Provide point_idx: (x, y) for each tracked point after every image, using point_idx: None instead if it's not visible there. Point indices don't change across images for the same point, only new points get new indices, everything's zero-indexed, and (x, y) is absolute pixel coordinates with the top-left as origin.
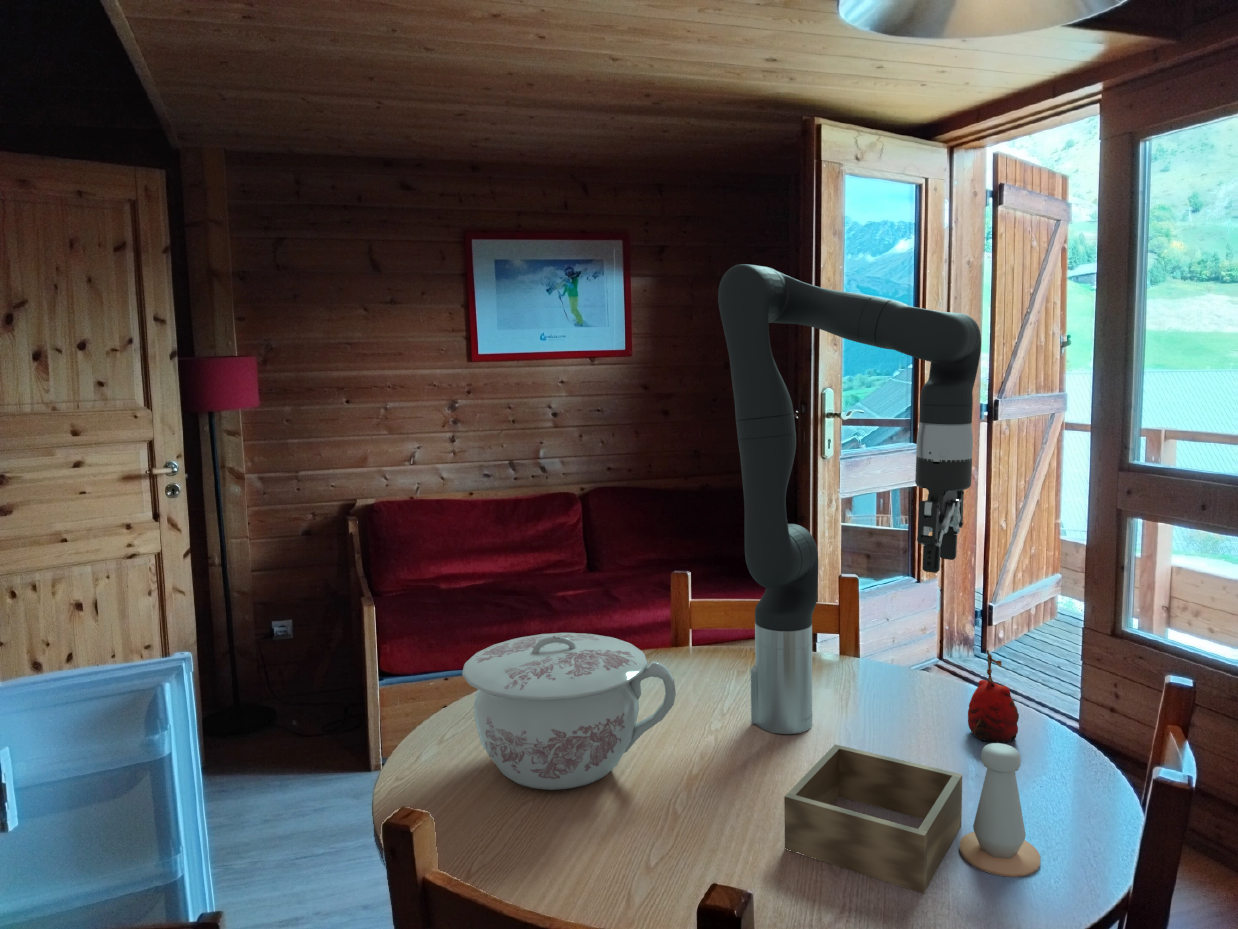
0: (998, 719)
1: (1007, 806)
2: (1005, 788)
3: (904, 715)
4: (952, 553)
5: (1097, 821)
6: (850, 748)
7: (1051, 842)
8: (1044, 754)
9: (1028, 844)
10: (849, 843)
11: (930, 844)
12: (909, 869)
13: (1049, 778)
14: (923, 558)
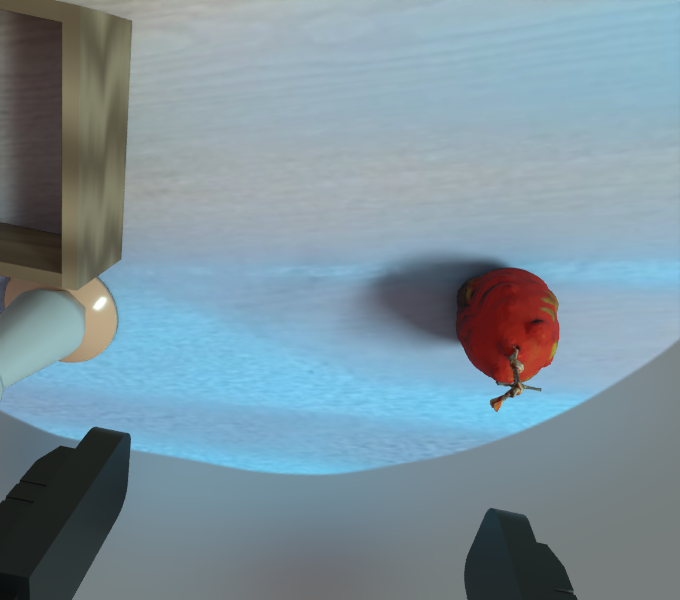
0: (460, 337)
1: None
2: None
3: (573, 124)
4: (473, 597)
5: (227, 432)
6: (77, 50)
7: (137, 375)
8: (438, 383)
9: (98, 350)
10: None
11: None
12: None
13: (344, 385)
14: (48, 483)
